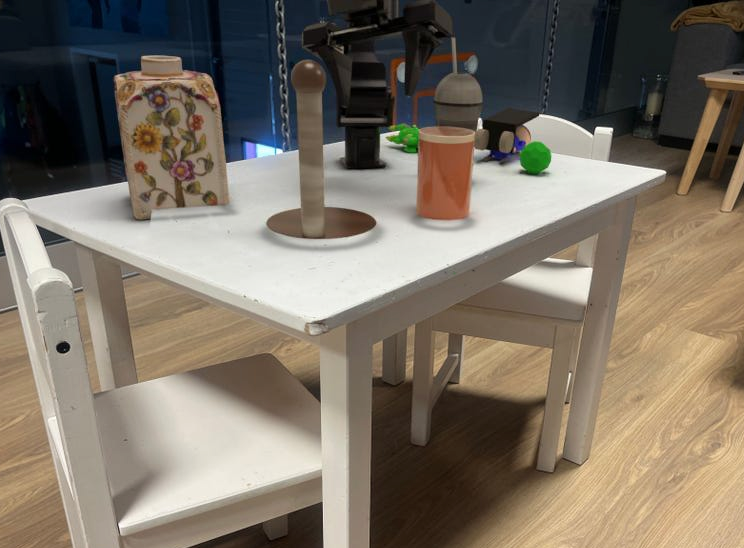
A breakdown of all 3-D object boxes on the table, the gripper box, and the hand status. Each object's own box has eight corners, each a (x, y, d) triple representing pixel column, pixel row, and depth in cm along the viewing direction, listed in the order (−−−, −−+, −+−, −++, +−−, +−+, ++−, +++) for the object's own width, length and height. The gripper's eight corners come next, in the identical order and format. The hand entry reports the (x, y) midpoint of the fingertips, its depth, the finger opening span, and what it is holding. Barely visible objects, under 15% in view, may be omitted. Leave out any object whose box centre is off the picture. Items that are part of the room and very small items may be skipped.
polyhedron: (515, 169, 118) (518, 139, 116) (544, 169, 119) (548, 139, 116) (522, 176, 114) (525, 145, 112) (552, 176, 114) (556, 145, 112)
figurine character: (507, 175, 120) (538, 150, 131) (510, 129, 116) (541, 107, 127) (470, 170, 123) (503, 145, 134) (472, 125, 119) (505, 103, 130)
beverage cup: (474, 190, 105) (485, 40, 96) (425, 186, 107) (431, 38, 97) (479, 178, 112) (490, 37, 102) (433, 175, 113) (439, 35, 104)
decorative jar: (129, 196, 97) (107, 52, 89) (216, 191, 101) (204, 52, 93) (134, 221, 88) (110, 62, 79) (231, 214, 91) (218, 61, 83)
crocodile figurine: (464, 162, 122) (466, 136, 120) (377, 148, 131) (377, 123, 129) (482, 156, 127) (484, 130, 125) (397, 142, 135) (398, 118, 133)
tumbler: (404, 219, 91) (406, 129, 86) (444, 210, 95) (449, 124, 90) (439, 232, 87) (444, 138, 82) (480, 223, 91) (487, 133, 85)
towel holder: (280, 213, 92) (272, 48, 83) (382, 218, 91) (384, 52, 82) (253, 246, 80) (239, 59, 72) (368, 252, 80) (369, 63, 71)
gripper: (274, -38, 87) (276, 95, 88) (414, -76, 78) (414, 71, 79) (325, -2, 97) (326, 117, 98) (454, -33, 88) (453, 98, 89)
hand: (375, 101), depth 91 cm, fingers open, 9 cm apart
